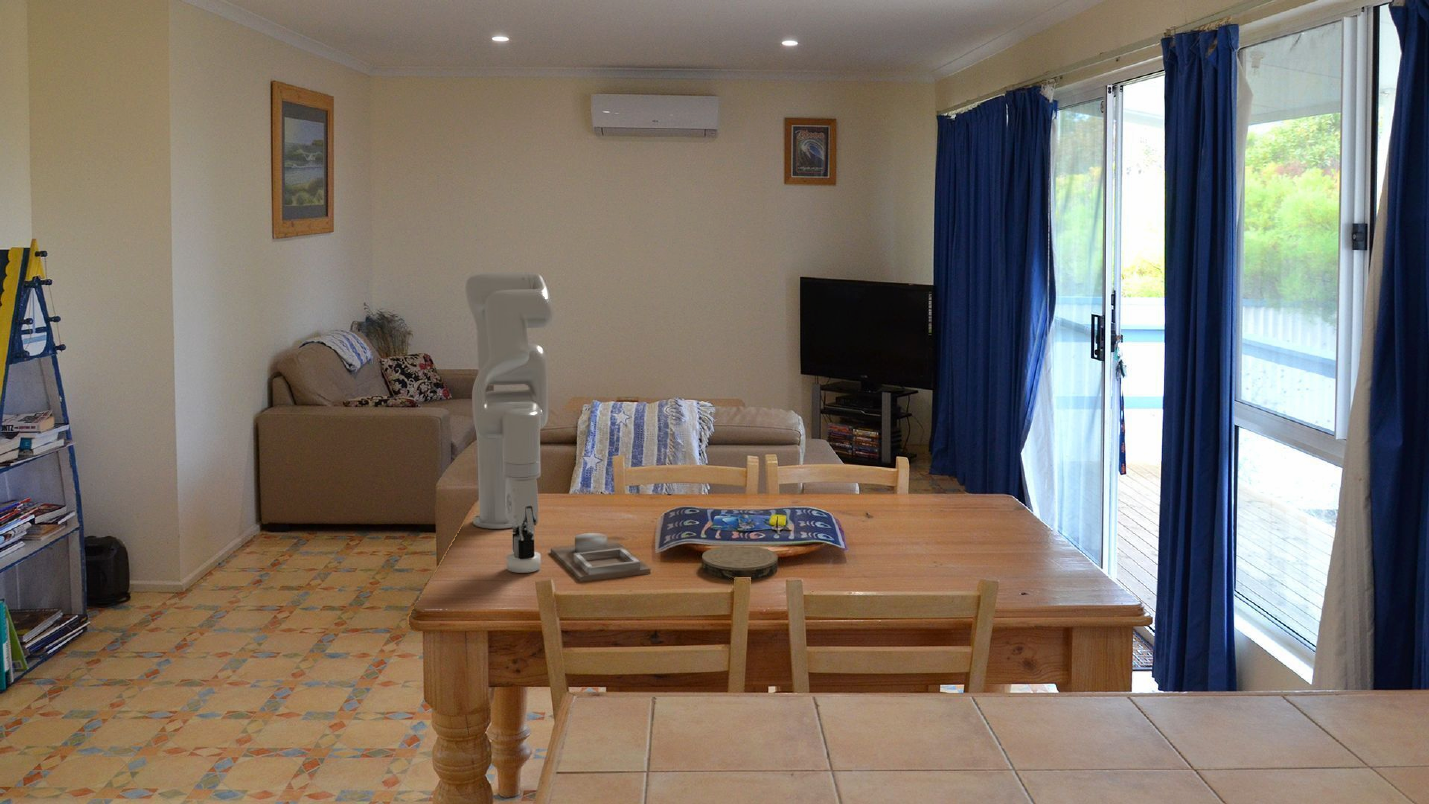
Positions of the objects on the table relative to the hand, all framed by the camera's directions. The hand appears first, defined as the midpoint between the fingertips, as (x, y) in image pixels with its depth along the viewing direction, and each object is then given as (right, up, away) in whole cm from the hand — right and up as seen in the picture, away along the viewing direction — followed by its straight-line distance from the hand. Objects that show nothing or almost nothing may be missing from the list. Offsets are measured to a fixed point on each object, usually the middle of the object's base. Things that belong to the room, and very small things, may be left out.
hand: (523, 553), depth 250 cm
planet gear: (0, -3, +1) cm, 3 cm away
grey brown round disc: (+45, -4, +2) cm, 45 cm away
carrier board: (+15, -3, +6) cm, 16 cm away
